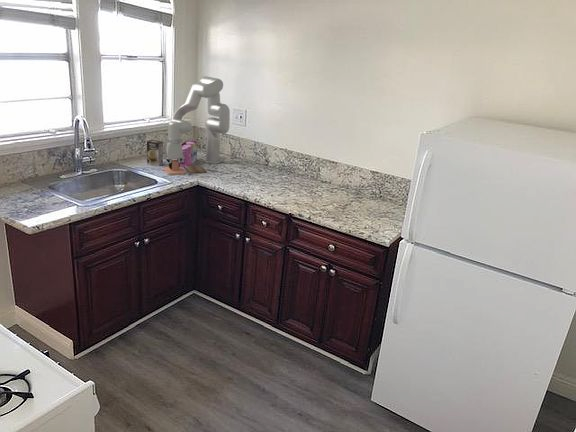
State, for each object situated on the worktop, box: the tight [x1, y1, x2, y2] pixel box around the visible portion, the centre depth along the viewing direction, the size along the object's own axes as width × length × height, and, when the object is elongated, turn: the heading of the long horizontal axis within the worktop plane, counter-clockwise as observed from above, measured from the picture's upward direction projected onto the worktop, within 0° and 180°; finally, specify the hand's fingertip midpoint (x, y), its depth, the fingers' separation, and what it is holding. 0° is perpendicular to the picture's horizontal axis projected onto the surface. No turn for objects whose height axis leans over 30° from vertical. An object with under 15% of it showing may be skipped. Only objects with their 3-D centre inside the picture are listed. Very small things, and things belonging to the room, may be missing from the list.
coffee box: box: [146, 139, 164, 167], centre depth 314 cm, size 9×6×16 cm
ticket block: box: [183, 164, 207, 175], centre depth 312 cm, size 11×14×2 cm
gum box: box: [180, 139, 198, 168], centre depth 324 cm, size 24×8×14 cm, turn 174°
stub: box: [162, 159, 187, 176], centre depth 304 cm, size 11×14×7 cm
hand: (174, 168), depth 305 cm, fingers closed on stub, 4 cm apart
